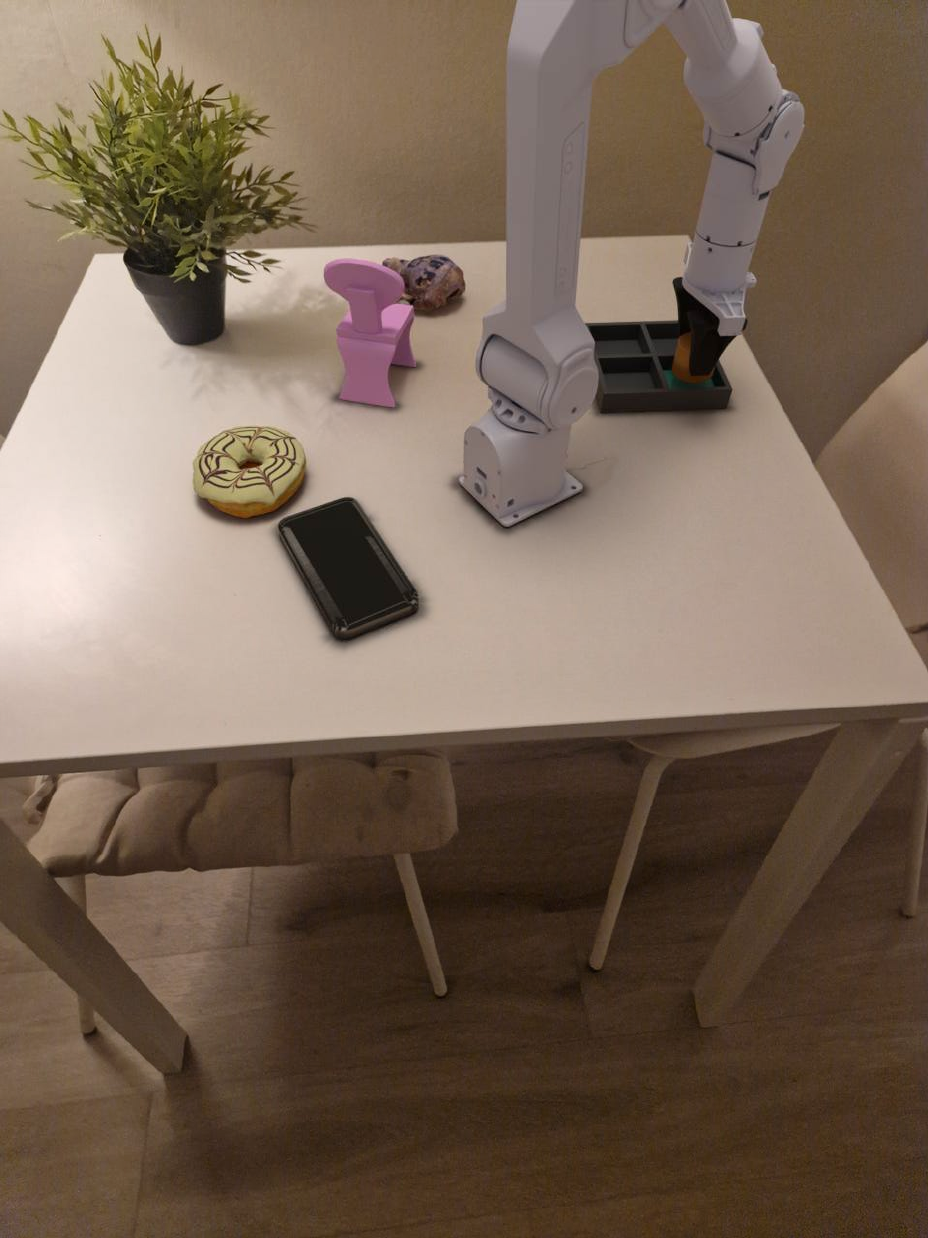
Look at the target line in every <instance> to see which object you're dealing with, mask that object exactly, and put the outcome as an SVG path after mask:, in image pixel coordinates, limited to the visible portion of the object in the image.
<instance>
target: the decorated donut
mask: <svg viewBox="0 0 928 1238" xmlns="http://www.w3.org/2000/svg"><path fill="white" fill-rule="evenodd" d="M306 468H307V457H306V454H305V448H304V447H303V445H302V443H301V442H299V440H298V439H297V437H295V436H294V435H292V433H290V432H288V431H286V430H284V429H281V428H278V427H276V426H269V425H241V426H235V427H232V428H229V429H226V430H222V431H221V432H220V433H218V434H216V435H214V436H213V437H212V438H211V439H209V440H207V441H205V443H203V444H202V445H201V446H200V447H199V449H198V451H197V455H196V457H195V458H194V459H193V461H192V470H193V473H192V485H193V489H194V491H195V493H196V494H197V495H198V496H199V497H200V498H202V499H206V501H207V502H208V503H209V504H210V505H212V506H214V507H215V508H216V509H217V510H219V511H221V512H223V513H225V514H228V515H231V516H234V517H237V518H243V519H248V518H251V517H252V516H253V517H254V516H260V515H264V514H267V513H271V512H274V511H276V510H277V509H278V508H280V507H281V506H282V505H283V504H285V503H287V502H288V500H289V499H290V498H291V497H292V496H293V495H294V494H295V493H296V491H297V490H298V489H299V487H300V486H302V483H303V480H304V477H305V472H306Z"/></svg>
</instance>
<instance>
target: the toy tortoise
mask: <svg viewBox="0 0 928 1238" xmlns="http://www.w3.org/2000/svg"><path fill="white" fill-rule="evenodd" d="M381 265H383V266H385V267H388V268H390V269H391V270H393V271H395V272H396V273H398V274H399V275H400V276H401V277H402V279H403V281H404V284H405V288H404V292H403V295H402V297H401V298H400V299H403V300H405V301H406V302H408V305H411V306H413V309H415V310H418V311H422V310H425V311H433V310H437V309H438V308H439V307H440V306H441V305H443V306H445V305H447V300H452V299H455V298H458V297H461V296H463V294H464V293H465V291H466V287H467V286H466V281H465V278H464V271H463V269H461V267H460V266H459V265H457V263H455V262H454V261H453V259H451V257H449V256H447V255H444V254H428V255H423V256H419V257H416V258H413V259H410V260H408V259H404V258H403V259H402V258H399V257H395V256H393V257H391V258H389V257H387V258H385V259H384V260H383V261H382V262H381Z"/></svg>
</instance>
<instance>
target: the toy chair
mask: <svg viewBox="0 0 928 1238" xmlns="http://www.w3.org/2000/svg"><path fill="white" fill-rule="evenodd" d="M323 280H324V283H325V285H326V286H327V287H328V288H329V289H330V290H331V291H333V292H334V293H336V294H338V295H339V296H340V297H341V298H343V299H344V300H345V301H346V302H348V305H349V310H348V311H347V313H346V314H345V316H344V317H343V318H342V319H341V321H340V322H339V323H338V325H337V327H336V345H337V348H338V351H339V354H340V355H341V359H342V361H343V364H344V370H345V376H344V382H343V386H342V390H341V392H340V394H339V400H343V401H348V402H349V401H350V402H354V403H361V404H367V405H373V406H379V407H385V408H391V409H392V408H393V409H394V408H395V407H396V403H395V400H394V398H393V396H392V392H391V388H390V385H389V384H390V383H389V370H390V366H391V364H392V365H398V366H405V367H411V368H416V367H417V362H416V359H415V355H414V353H413V349H412V345H411V338H410V337H411V336H410V335H411V329H412V326H413V324H414V321H415V313H414V311H415V310H414V309H415V308H413V306H411V305H410V304H403V303H397V302H398V301H400V300H401V299H402V298H401V297H402V295H403V292H404V288H405V284H404V281H403V279H402V277H401V276H400V275H399V274H398V273H396V272H395V271H393V270H391V269H390V268H388V267H385V266H383V265H382V264H380V263H377V262H374V261H370V260H365V259H359V258H358V259H357V258H349V257H347V258H338V259H334V260H331V261H328V263H326V264H325V266H324V268H323Z"/></svg>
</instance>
